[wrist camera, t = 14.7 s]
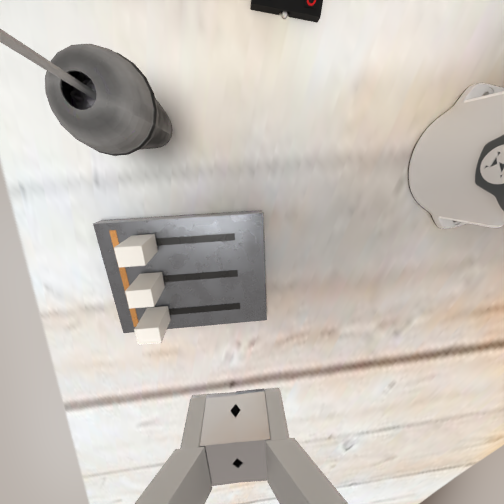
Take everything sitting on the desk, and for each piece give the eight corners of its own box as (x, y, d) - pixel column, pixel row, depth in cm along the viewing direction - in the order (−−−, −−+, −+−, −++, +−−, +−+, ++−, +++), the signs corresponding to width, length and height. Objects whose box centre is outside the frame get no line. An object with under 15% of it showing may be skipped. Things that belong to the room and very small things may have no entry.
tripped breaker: (167, 306, 35) (158, 327, 31) (170, 319, 36) (161, 342, 31) (147, 307, 35) (134, 329, 30) (150, 321, 36) (138, 344, 31)
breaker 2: (161, 271, 33) (150, 289, 29) (164, 287, 34) (154, 306, 30) (139, 273, 33) (124, 291, 29) (143, 289, 34) (129, 308, 29)
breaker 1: (154, 233, 32) (141, 245, 27) (157, 251, 32) (145, 265, 28) (131, 235, 31) (113, 247, 27) (135, 252, 32) (118, 267, 28)
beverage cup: (149, 170, 31) (26, 177, 12) (108, 116, 29) (-122, 23, 10) (195, 138, 30) (137, 92, 11) (157, 79, 28) (5, -100, 9)
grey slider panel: (261, 210, 34) (263, 213, 32) (264, 312, 40) (266, 320, 38) (101, 220, 33) (92, 223, 31) (128, 324, 38) (123, 333, 36)
